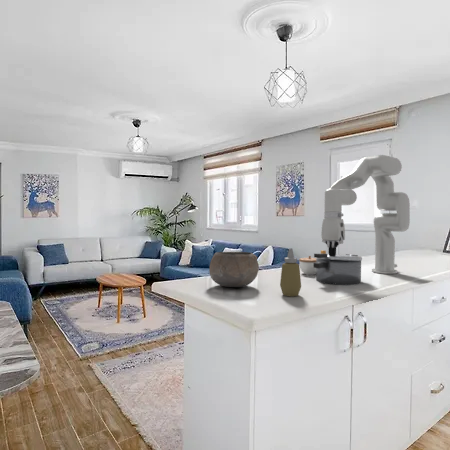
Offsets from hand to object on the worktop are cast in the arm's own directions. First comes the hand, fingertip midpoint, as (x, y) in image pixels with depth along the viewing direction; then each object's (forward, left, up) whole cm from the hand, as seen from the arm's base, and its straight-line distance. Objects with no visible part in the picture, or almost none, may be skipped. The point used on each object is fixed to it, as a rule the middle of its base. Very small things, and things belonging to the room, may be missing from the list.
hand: (332, 255), depth 165 cm
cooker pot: (-2, 0, -12) cm, 12 cm away
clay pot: (+43, -18, -12) cm, 49 cm away
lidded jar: (-10, -21, -12) cm, 26 cm away
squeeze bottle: (+35, +7, -12) cm, 38 cm away
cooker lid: (-2, 0, -1) cm, 3 cm away
